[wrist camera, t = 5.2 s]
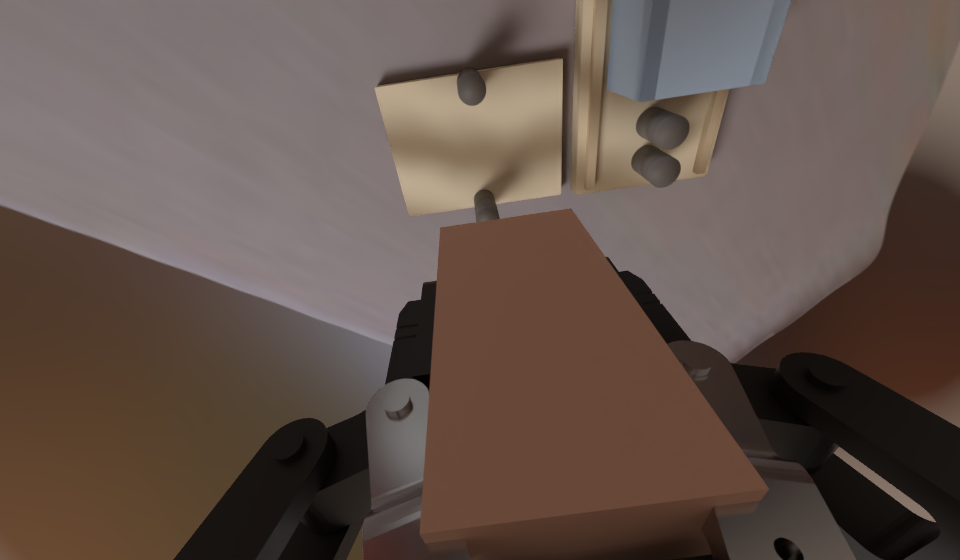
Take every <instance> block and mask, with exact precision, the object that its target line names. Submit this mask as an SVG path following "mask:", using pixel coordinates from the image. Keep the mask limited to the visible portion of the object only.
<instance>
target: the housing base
mask: <svg viewBox="0 0 960 560" xmlns="http://www.w3.org/2000/svg"><path fill="white" fill-rule="evenodd" d="M613 1H614V0H576V12H575V46H574V80H573V114H572V148H571V182H570V188H571V189H572V191H573V192H574V193H575V195H579V194H586V193H593V192H600V191H606V190H613V189H620V188H627V187H634V186H641V185H648V184H652V185H654V186H655V187H659V188H662V187H666V186H669V185H670V184H672V183H673V182H674V181H675V180H682V179H689V178H696V177H703V176H707V172H708V168H709V165H710V161H711V157H712V153H713V149H714V146H715V142H716V138H717V134H718V131H719V127H720V123H721V119H722V116H723V112H724V108H725V104H726V100H727V97H728V93H729V89H725V90H718V91H712V92H705V93H698V94H692V95H685V96H678V97H672V98H665V99H658V100H652V101H645V102H638V101H635V100H633V99H630V98H627V97H625V96H622V95H620V94H617V93H615V92H612V91H609V90H607V76H608V64H609V51H610V39H611V26H612V13H613Z"/></svg>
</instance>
